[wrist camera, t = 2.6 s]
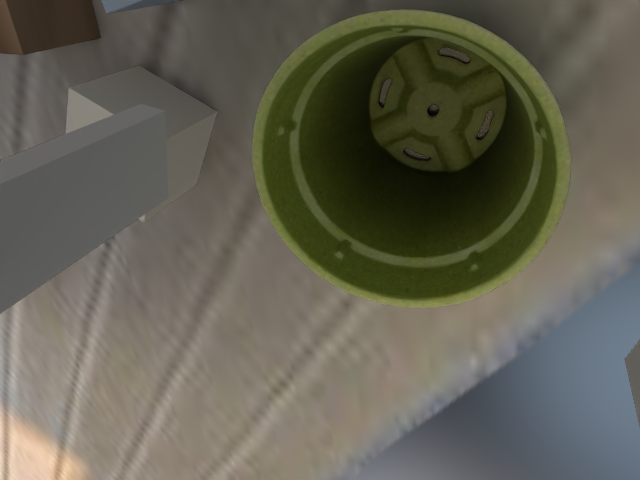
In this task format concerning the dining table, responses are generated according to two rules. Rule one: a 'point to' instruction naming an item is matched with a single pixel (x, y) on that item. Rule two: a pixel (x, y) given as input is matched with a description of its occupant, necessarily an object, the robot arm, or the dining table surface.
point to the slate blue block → (131, 4)
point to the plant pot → (401, 170)
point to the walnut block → (45, 24)
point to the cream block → (146, 88)
